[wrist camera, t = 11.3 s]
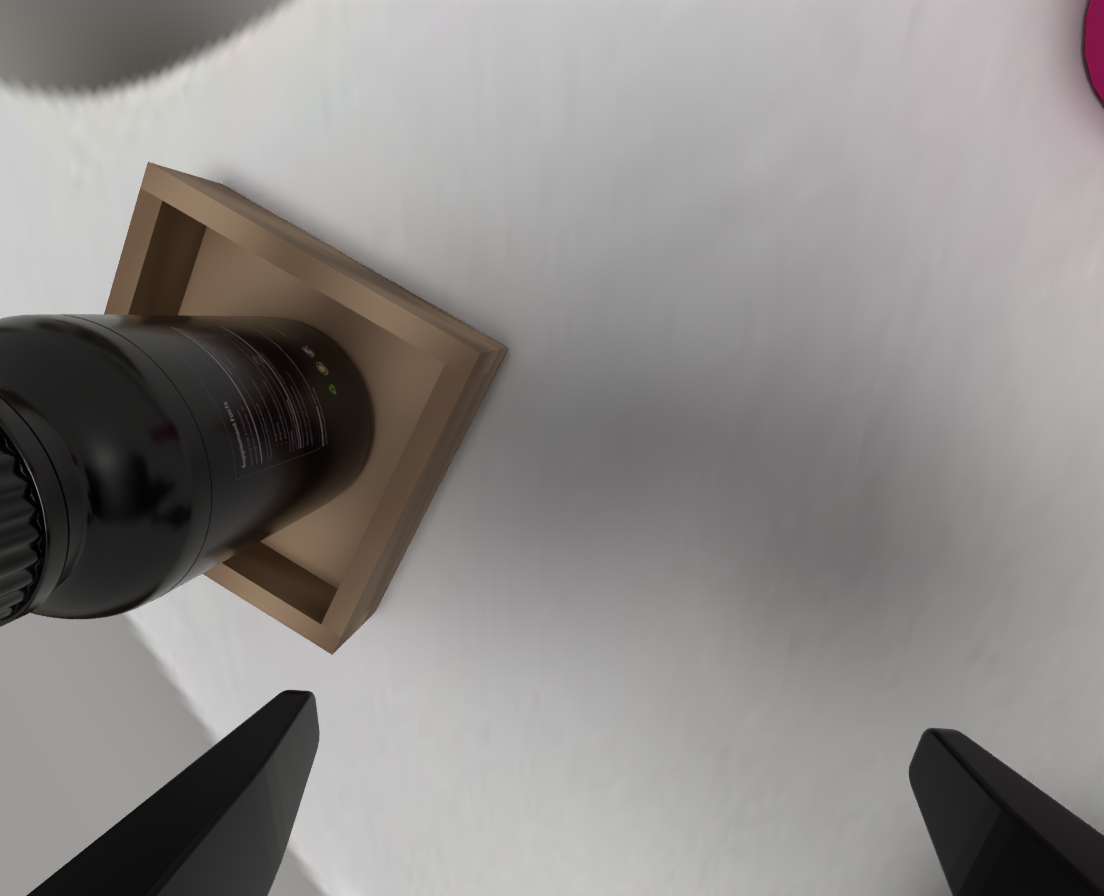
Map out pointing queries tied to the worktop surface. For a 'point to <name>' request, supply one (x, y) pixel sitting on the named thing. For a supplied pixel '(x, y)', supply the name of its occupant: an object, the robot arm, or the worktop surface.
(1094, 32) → the pepper mill
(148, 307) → the tray
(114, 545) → the supplement bottle
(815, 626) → the worktop surface
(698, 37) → the worktop surface
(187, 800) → the robot arm
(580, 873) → the worktop surface
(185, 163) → the worktop surface
